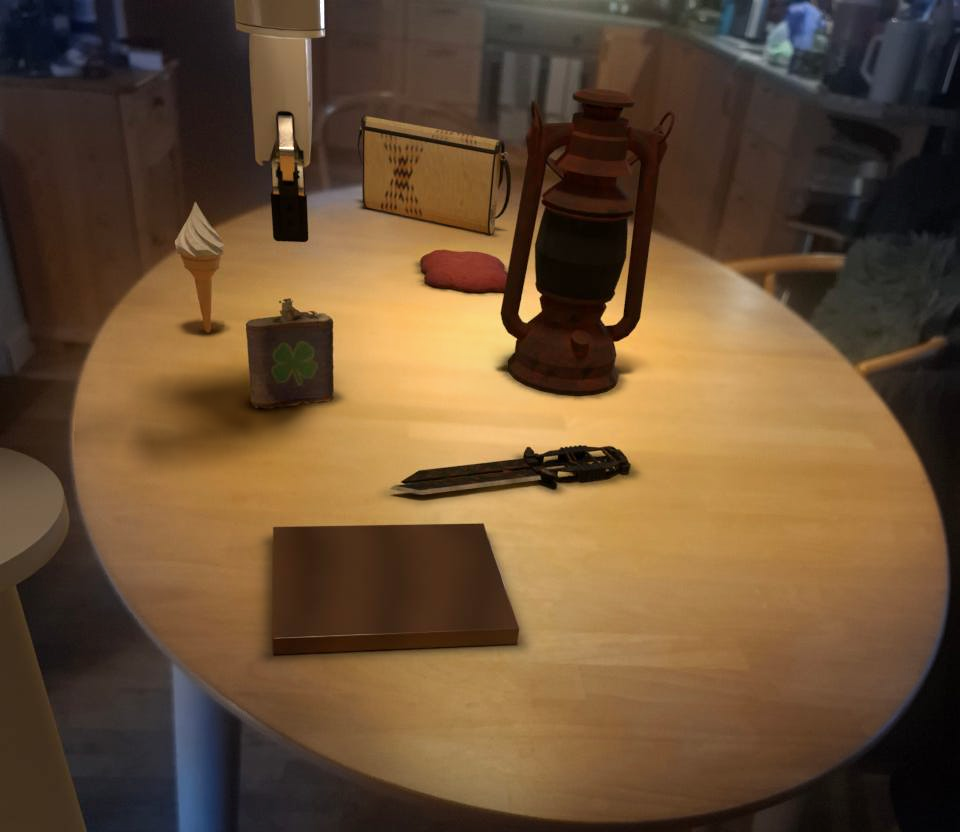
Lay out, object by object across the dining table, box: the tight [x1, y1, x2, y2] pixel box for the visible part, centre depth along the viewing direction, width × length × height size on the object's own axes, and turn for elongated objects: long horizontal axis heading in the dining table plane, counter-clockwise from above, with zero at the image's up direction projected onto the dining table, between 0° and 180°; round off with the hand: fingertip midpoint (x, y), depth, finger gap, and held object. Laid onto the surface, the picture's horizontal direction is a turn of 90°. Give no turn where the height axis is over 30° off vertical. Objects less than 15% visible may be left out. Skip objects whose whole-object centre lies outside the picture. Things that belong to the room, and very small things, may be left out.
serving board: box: [272, 522, 520, 655], centre depth 71 cm, size 18×15×2 cm
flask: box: [245, 297, 335, 409], centre depth 94 cm, size 9×3×11 cm, turn 117°
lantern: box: [500, 87, 676, 397], centre depth 101 cm, size 17×14×30 cm
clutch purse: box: [357, 115, 512, 236], centre depth 158 cm, size 30×7×15 cm, turn 66°
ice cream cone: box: [174, 201, 225, 334], centre depth 106 cm, size 6×6×15 cm
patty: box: [419, 249, 508, 293], centre depth 137 cm, size 18×14×2 cm
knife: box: [389, 444, 631, 496], centre depth 88 cm, size 25×6×1 cm, turn 108°
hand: (290, 226), depth 86 cm, fingers open, 9 cm apart
